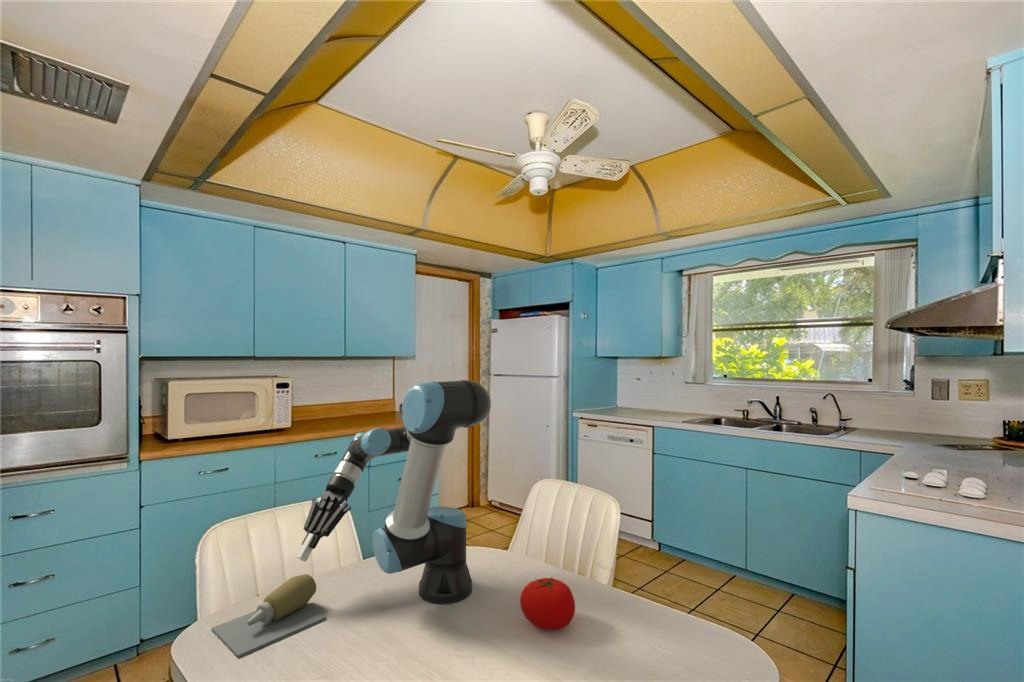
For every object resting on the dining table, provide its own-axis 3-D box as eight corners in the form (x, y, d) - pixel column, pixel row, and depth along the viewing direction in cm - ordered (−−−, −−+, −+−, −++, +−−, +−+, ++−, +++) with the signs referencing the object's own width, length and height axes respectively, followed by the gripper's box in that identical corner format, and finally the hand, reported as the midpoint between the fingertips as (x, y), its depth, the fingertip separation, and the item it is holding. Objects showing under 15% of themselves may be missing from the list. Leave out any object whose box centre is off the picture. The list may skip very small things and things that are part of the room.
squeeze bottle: (316, 569, 134) (255, 607, 118) (322, 599, 134) (263, 640, 118) (296, 569, 137) (234, 606, 121) (302, 598, 137) (242, 638, 121)
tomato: (586, 623, 125) (586, 582, 125) (554, 646, 116) (554, 601, 116) (542, 603, 135) (542, 565, 135) (510, 623, 126) (510, 581, 126)
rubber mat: (325, 619, 127) (325, 616, 127) (237, 658, 111) (237, 655, 111) (295, 597, 138) (295, 595, 138) (211, 630, 122) (211, 627, 122)
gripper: (367, 489, 149) (327, 568, 133) (332, 485, 153) (290, 561, 138) (355, 476, 144) (312, 557, 128) (320, 471, 148) (274, 549, 133)
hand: (301, 559), depth 133 cm, fingers closed
